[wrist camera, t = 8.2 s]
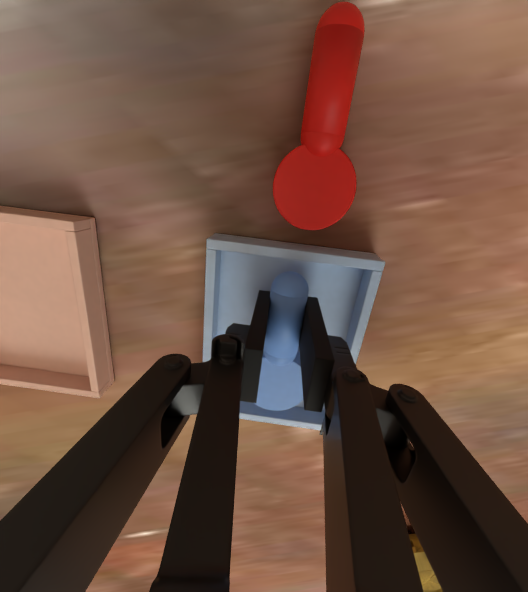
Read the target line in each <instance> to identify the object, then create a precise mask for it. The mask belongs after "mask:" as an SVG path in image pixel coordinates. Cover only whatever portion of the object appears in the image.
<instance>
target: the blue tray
mask: <svg viewBox="0 0 528 592" xmlns="http://www.w3.org/2000/svg"><path fill="white" fill-rule="evenodd" d="M206 248H207V249H206V272H205V303H204V334H203V362H206V361H209V360H211V344H212V340H213V338H214V337H216V336H218V335H222V334H225V332H226V330H227V327H228V326H230V325H231V324H233V323H237V324H244V325H250V324H251V320H252V316H253V312H254V308H255V304H256V300H257V296H258V293H259V290H263V291H270V290H271V285H272V282H273V280H274V279H275V278H276V277H277V276H278V275H279V274H281V273H283V272H286V271H293V272H297V273H299V274H301V275H302V276H303V277H304V278H305V280H306V281H307V284H308V288H309V291H308V296H309V297H316V298H318V301H319V305H320V309H321V312H322V316H323V320H324V323H325V327H326V331H327V334H328V335H331V336H338V337H342V338H343V339H344V340H345V341H346V342H347V344H348V347H349V350H350V352H351V355H352V357H353V360H354V362H355V365H356V361H357V358H358V354H359V351H360V348H361V344H362V341H363V337H364V334H365V330H366V327H367V324H368V320H369V317H370V313H371V310H372V306H373V303H374V300H375V296H376V293H377V289H378V286H379V282H380V279H381V275H382V271H383V269H384V265H385V261H384V260H383V259H381V258H380V257H379V256H377V255H376V254H375V253H368V252H360V251H352V250H344V249H337V248H329V247H321V246H313V245H305V244H297V243H290V242H282V241H274V240H266V239H258V238H250V237H243V236H235V235H227V234H219V233H214V234H213V235H212V236H210V237H209V238H207V243H206ZM298 352H299V353H300V350H299V346H298ZM324 415H325V405H323V409H322V413H321V412H314V411H307V410H304V401H303V400H302V401H301V402H300V403H299V404H298V405H296V406H294V407H292V408H290V409H286V410H281V411H273V410H267V409H264V408H261V407H259V406H257V405H255V404H254V403H251V402H244V401H240V414H239V419H246V420H252V421H259V422H266V423H273V424H280V425H287V426H294V427H301V428H308V429H315V430H321V426H322V423H323V419H324Z"/></svg>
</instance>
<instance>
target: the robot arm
mask: <svg viewBox="0 0 528 592" xmlns="http://www.w3.org/2000/svg"><path fill="white" fill-rule="evenodd" d="M269 305H270V291H263V290H259V293H258V296H257V300H256V304H255V308H254V312H253V316H252V320H251V324H250V325H244V324H237V323H233V324H231V325H230V326H228V327H227V330H226V332H225V334H222V335H218V336H216V337H214V338H213V340H212V344H211V360H209V361H206V362H202V363H191V361H190V359H189V358H188V357H187V356H185V355H182V354H169V355H166V356H163V357H162V358H160V359H159V360H158V361H157V362H156V363H155V364H154V365H153V366H152V367H151V368H150V369H149V370H148V371H147V372H146V373H145V374H144V375H143V376H142V377H141V378H140V379H139V380H138V381H137V382H136V383H135V384H134V385H133V386H132V387H131V388H130V389H129V390H128V391H127V392H126V393H125V394H124V395H123V396H122V397H121V398H120V399H119V400H118V401H117V402H116V403H115V404H114V406H113V407H112V408H111V409H110V410H109V411H108V412H107V413H106V414H105V415H104V416H103V417H102V418H101V419H100V420H99V421H98V422H97V423H96V424H95V425H94V426H93V427H92V428H91V429H90V430H89V431H88V432H87V433H86V434H85V435H84V436H83V437H82V438H81V439H80V440H79V441H78V442H77V443H76V444H75V445H74V446H73V447H72V448H71V449H70V450H69V451H68V452H67V453H66V454H65V455H64V456H63V458H62V459H61V460H60V461H59V462H58V463H57V464H56V465H55V466H54V467H53V468H52V469H51V470H50V471H49V472H48V473H47V474H46V475H45V476H44V477H43V478H42V479H41V480H40V481H39V482H38V483H37V484H36V485H35V486H34V487H33V488H32V489H31V490H30V491H29V492H28V493H27V494H26V495H25V496H24V497H23V498H22V499H21V500H20V501H19V502H18V503H17V504H16V505H15V506H14V507H13V509H12V510H11V511H10V512H9V513H8V514H7V515H6V516H5V517H4V518H3V519H2V520H1V521H0V592H85V591H86V589H87V588H88V586H89V584H90V583H91V581H92V579H93V578H94V576H95V574H96V573H97V571H98V569H99V568H100V566H101V564H102V563H103V561H104V559H105V558H106V556H107V554H108V553H109V551H110V549H111V548H112V546H113V544H114V543H115V541H116V539H117V537H118V536H119V534H120V532H121V531H122V529H123V527H124V526H125V524H126V522H127V521H128V519H129V517H130V516H131V514H132V512H133V511H134V509H135V507H136V506H137V504H138V502H139V501H140V499H141V497H142V496H143V494H144V492H145V491H146V489H147V487H148V486H149V484H150V482H151V481H152V479H153V477H154V476H155V474H156V472H157V471H158V469H159V467H160V466H161V464H162V462H163V460H164V459H165V457H166V455H167V454H168V452H169V450H170V449H171V447H172V445H173V444H174V442H175V440H176V439H177V437H178V435H179V434H180V432H181V430H182V429H183V427H184V425H185V424H186V422H187V420H188V419H189V416H190V415H192V414H197V417H196V421H195V425H194V429H193V434H192V438H191V442H190V446H189V450H188V454H187V458H186V462H185V466H184V470H183V475H182V479H181V483H180V487H179V491H178V495H177V499H176V503H175V507H174V512H173V516H172V520H171V524H170V528H169V532H168V536H167V540H166V544H165V548H164V553H163V557H162V561H161V565H160V568H159V572H158V574H157V577H156V578H155V580H154V581H153V583H152V585H151V588H150V591H149V592H229V586H230V580H229V576H230V558H231V542H232V526H233V510H234V494H235V478H236V462H237V446H238V430H239V414H240V401H244V402H251V403H256V401H257V394H258V387H259V379H260V372H261V365H262V357H263V350H264V342H265V335H266V327H267V320H268V312H269ZM299 350H300V363H301V376H302V388H303V401H304V410H307V411H314V412H321V413H322V409H323V405H325V415H324V419H323V423H322V426H321V430H320V435H322V434H323V447H324V496H325V544H326V592H424V591H423V587H422V584H421V580H420V576H419V572H418V568H417V565H416V561H415V557H414V553H413V549H412V545H411V542H410V538H409V534H408V530H407V526H406V522H405V519H404V515H403V511H402V507H401V504H402V506H403V508H404V511H405V513H406V515H407V517H408V519H409V521H410V523H411V525H412V527H413V529H414V532H415V534H416V536H417V538H418V540H419V542H420V544H421V546H422V548H423V550H424V553H425V555H426V557H427V559H428V561H429V563H430V565H431V567H432V569H433V571H434V574H435V576H436V578H437V580H438V582H439V584H440V586H441V588H442V590H443V592H528V524H527V522H526V521H525V520H524V519H523V517H522V516H521V515H520V514H519V513H518V511H517V510H516V509H515V508H514V506H513V505H512V504H511V503H510V501H509V500H508V499H507V498H506V497H505V495H504V494H503V493H502V492H501V490H500V489H499V488H498V487H497V486H496V484H495V483H494V482H493V481H492V479H491V478H490V477H489V476H488V475H487V473H486V472H485V471H484V470H483V468H482V467H481V466H480V465H479V463H478V462H477V461H476V460H475V459H474V457H473V456H472V455H471V454H470V452H469V451H468V450H467V449H466V448H465V446H464V445H463V444H462V443H461V441H460V440H459V439H458V438H457V437H456V435H455V434H454V433H453V432H452V430H451V429H450V428H449V427H448V425H447V424H446V423H445V422H444V421H443V419H442V418H441V417H440V416H439V414H438V413H437V412H436V411H435V410H434V408H433V407H432V406H431V405H430V403H429V402H428V401H427V400H426V399H425V397H424V396H423V395H422V394H421V393H420V392H419V391H417V390H415V389H414V388H412V387H410V386H407V385H403V384H393V385H392V386H390V388H389V391H387V390H384V389H381V388H378V387H376V386H373V385H371V384H369V381H368V379H367V377H366V375H365V374H363V373H362V372H361V371H359V370H357V368H356V365H355V362H354V360H353V357H352V355H351V352H350V350H349V347H348V344H347V342H346V341H345V340H344V339H343V338H342V337H338V336H331V335H328V334H327V331H326V327H325V323H324V320H323V316H322V312H321V309H320V305H319V301H318V298H316V297H309V296H308V298H307V303H306V307H305V313H304V318H303V323H302V329H301V334H300V339H299ZM410 442H411V443H412V445H413V446H412V445H411V443H410ZM413 447H414V448H413ZM400 502H401V503H400Z"/></svg>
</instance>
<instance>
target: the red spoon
mask: <svg viewBox="0 0 528 592" xmlns="http://www.w3.org/2000/svg"><path fill="white" fill-rule="evenodd" d="M364 31H365V30H364V20H363V16H362V14H361V12H360V10H359V9H358V8H357V7H356V6H355V5H354V4H352V3H349V2H339V3H336V4H334V5H332V6H331V7H329V8H328V9H327V10H326V11H325V13H324V14H323V15H322V17H321V18H320V20H319V23H318V25H317V28H316V32H315V38H314V45H313V52H312V59H311V66H310V73H309V80H308V87H307V94H306V101H305V108H304V115H303V122H302V129H301V145H300V146H298V147H297V148H295V149H293V150H292V151H291V152H289V153H288V154H287V155H286V156H285V158H284V159H283V160H282V161H281V163H280V165H279V166H278V169H277V171H276V174H275V177H274V182H273V196H274V201H275V204H276V207H277V209H278V211H279V212H280V214H281V215H282V216H283V218H284V219H285V220H286V221H288V222H289V223H290V224H292V225H293V226H295V227H297V228H300V229H304V230H320V229H324V228H327V227H329V226H331V225H333V224H334V223H336V222H337V221H339V220H340V219H341V218H342V217H343V216H344V215H345V214H346V212H347V211H348V210H349V208H350V206H351V204H352V202H353V199H354V196H355V192H356V174H355V170H354V167H353V165H352V163H351V161H350V159H349V158H348V156H347V155H346V154H345V153H344V152H343V151H342V150H341V149H340V147H341V145H342V143H343V140H344V136H345V130H346V125H347V120H348V115H349V110H350V105H351V100H352V95H353V90H354V85H355V79H356V74H357V69H358V64H359V59H360V54H361V49H362V44H363V39H364Z"/></svg>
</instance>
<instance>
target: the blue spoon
mask: <svg viewBox="0 0 528 592" xmlns="http://www.w3.org/2000/svg"><path fill="white" fill-rule="evenodd" d="M308 291H309V288H308V284H307V281H306V280H305V278H304V277H303V276H302V275H301V274H299V273H297V272H293V271H286V272H283V273H281V274H279V275H278V276H277V277H276V278H275V279H274V280H273V282H272V285H271V290H270V305H269V312H268V320H267V327H266V335H265V342H264V350H263V357H262V365H261V372H260V379H259V387H258V394H257V401H256V403H254V404H255V405H257V406H259V407H261V408H264V409H267V410H273V411H281V410H286V409H290V408H292V407H294V406H296V405H298V404H299V403H300V402H301V401H302V400H303V388H302V376H301V363H300V353H299V352H298V346H299V339H300V334H301V329H302V323H303V318H304V313H305V307H306V303H307V298H308Z"/></svg>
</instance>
